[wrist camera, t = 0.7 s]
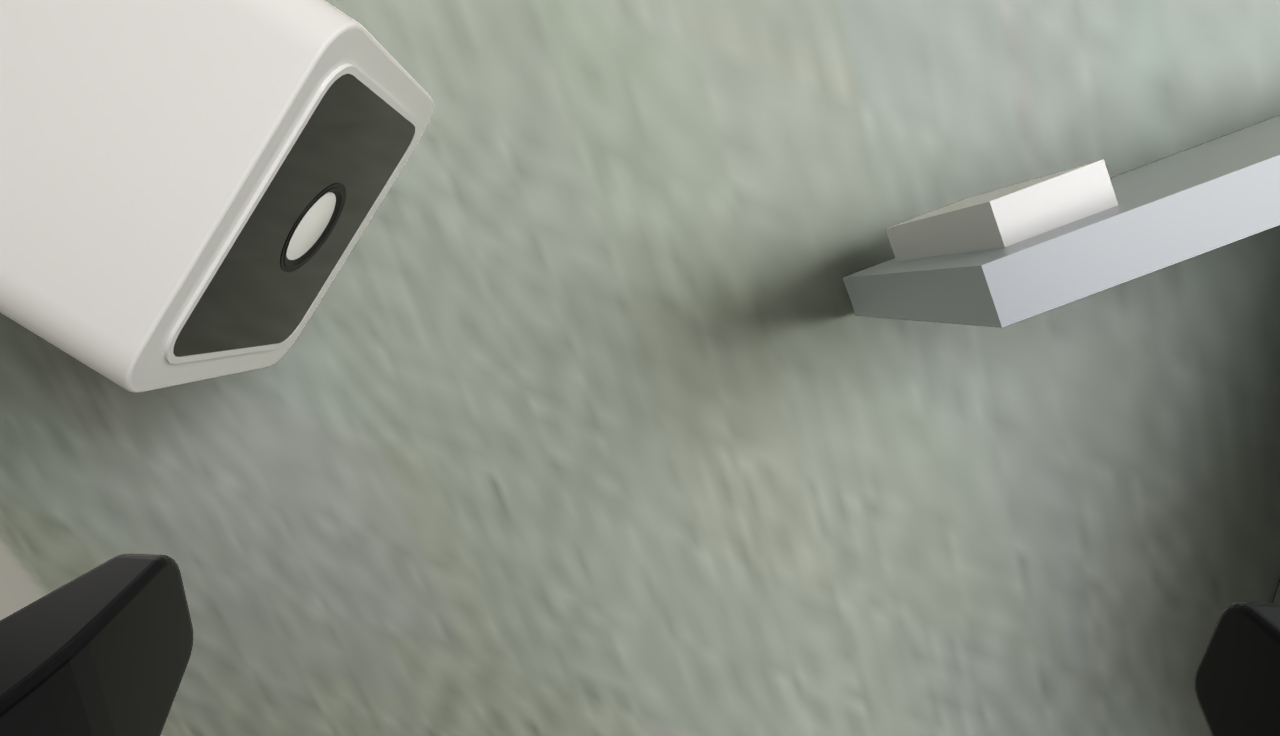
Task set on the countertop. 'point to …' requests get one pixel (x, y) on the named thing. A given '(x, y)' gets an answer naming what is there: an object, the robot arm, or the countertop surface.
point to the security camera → (188, 175)
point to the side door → (1073, 234)
